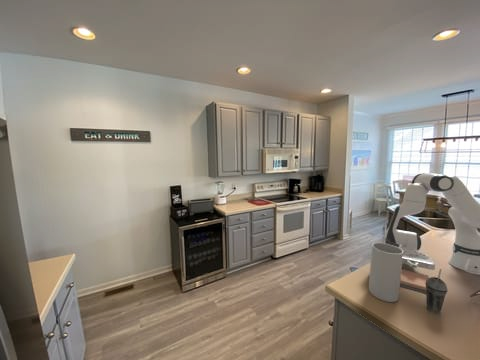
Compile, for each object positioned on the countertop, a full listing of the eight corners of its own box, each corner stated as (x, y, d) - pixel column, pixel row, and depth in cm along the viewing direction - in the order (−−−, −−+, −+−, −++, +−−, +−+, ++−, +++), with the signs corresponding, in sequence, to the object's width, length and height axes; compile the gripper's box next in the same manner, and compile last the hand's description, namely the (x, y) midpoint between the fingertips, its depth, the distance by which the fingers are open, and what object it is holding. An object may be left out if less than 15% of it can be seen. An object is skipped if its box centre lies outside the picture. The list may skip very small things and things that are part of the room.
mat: (431, 281, 113) (431, 280, 113) (439, 297, 99) (440, 296, 99) (392, 271, 122) (392, 270, 122) (394, 284, 109) (394, 284, 109)
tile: (428, 275, 114) (435, 289, 102) (427, 278, 114) (434, 293, 102) (395, 267, 122) (398, 279, 110) (395, 270, 123) (397, 283, 110)
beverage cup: (418, 304, 95) (422, 265, 92) (432, 303, 95) (437, 264, 93) (434, 316, 87) (439, 274, 85) (449, 315, 88) (455, 273, 86)
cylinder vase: (363, 286, 108) (366, 242, 105) (386, 286, 108) (390, 243, 105) (378, 302, 96) (383, 253, 93) (404, 303, 95) (410, 254, 92)
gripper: (389, 247, 130) (391, 256, 119) (431, 256, 119) (438, 266, 108) (388, 256, 131) (390, 266, 119) (430, 265, 120) (437, 277, 108)
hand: (413, 266), depth 113 cm, fingers closed
